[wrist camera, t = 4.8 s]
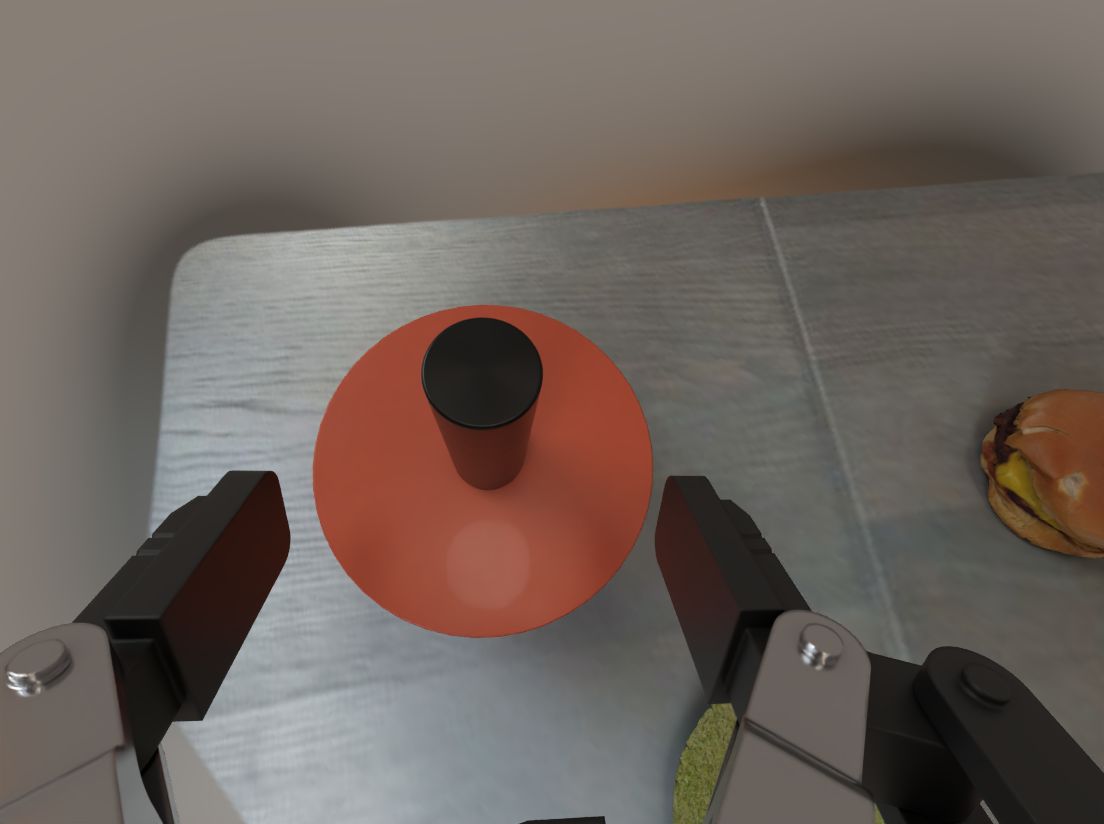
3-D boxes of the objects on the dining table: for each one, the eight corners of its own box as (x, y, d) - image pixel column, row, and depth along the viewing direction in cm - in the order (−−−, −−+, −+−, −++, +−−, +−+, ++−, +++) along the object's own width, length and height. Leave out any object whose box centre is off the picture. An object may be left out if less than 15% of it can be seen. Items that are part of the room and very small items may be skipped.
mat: (917, 765, 26) (950, 780, 24) (818, 1004, 23) (847, 1043, 21) (735, 622, 27) (752, 626, 25) (615, 830, 24) (625, 852, 22)
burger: (1140, 485, 32) (1243, 472, 28) (1071, 591, 30) (1172, 594, 25) (1013, 373, 34) (1091, 343, 29) (937, 464, 31) (1010, 447, 27)
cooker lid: (536, 708, 19) (578, 854, 9) (248, 508, 20) (12, 449, 10) (698, 420, 23) (845, 309, 13) (452, 266, 24) (421, 60, 14)
